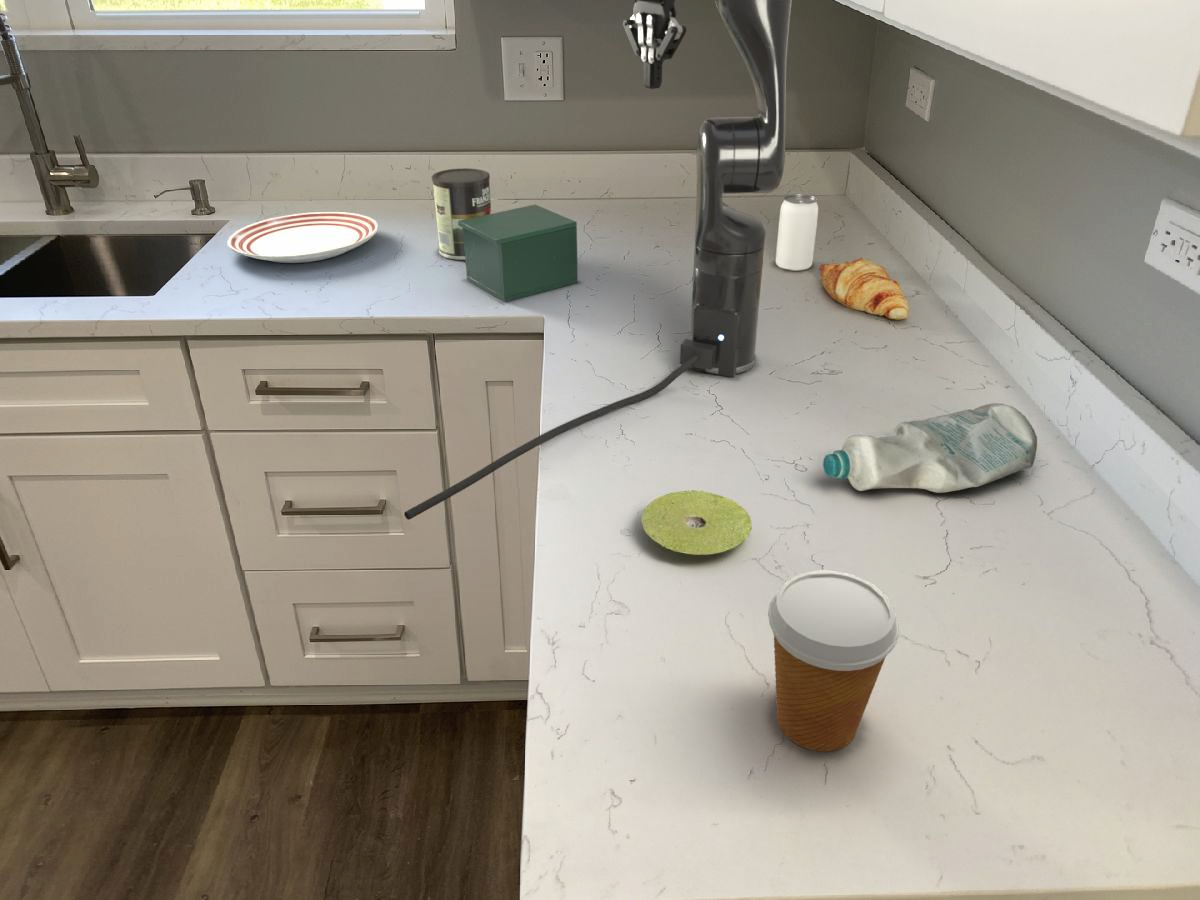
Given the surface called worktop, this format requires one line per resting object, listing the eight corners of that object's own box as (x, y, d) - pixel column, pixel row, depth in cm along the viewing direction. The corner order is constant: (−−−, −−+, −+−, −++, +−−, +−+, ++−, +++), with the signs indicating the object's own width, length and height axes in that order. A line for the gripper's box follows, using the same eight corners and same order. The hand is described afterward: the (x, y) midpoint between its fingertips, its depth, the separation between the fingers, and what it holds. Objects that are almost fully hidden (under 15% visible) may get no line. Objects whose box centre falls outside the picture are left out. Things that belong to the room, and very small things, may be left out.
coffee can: (503, 245, 175) (499, 170, 168) (478, 263, 167) (472, 185, 160) (456, 239, 178) (449, 165, 171) (428, 256, 170) (420, 179, 163)
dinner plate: (198, 264, 167) (193, 246, 166) (287, 220, 190) (284, 204, 188) (329, 280, 160) (326, 261, 158) (406, 232, 182) (404, 216, 180)
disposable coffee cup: (803, 786, 69) (822, 668, 63) (734, 700, 76) (744, 586, 70) (903, 742, 72) (930, 626, 66) (828, 664, 80) (846, 553, 73)
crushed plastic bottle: (981, 431, 114) (794, 455, 108) (998, 381, 109) (805, 404, 104) (1049, 496, 103) (846, 527, 98) (1070, 444, 99) (860, 473, 93)
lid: (496, 245, 145) (496, 240, 145) (458, 225, 154) (457, 220, 154) (576, 226, 153) (576, 221, 153) (535, 208, 162) (535, 204, 162)
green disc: (691, 492, 103) (692, 477, 102) (772, 536, 96) (774, 521, 95) (618, 534, 96) (619, 518, 95) (700, 584, 89) (701, 568, 88)
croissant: (915, 341, 145) (942, 295, 142) (875, 324, 139) (903, 276, 137) (829, 294, 161) (852, 252, 159) (791, 277, 155) (814, 233, 153)
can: (810, 259, 168) (817, 193, 161) (813, 272, 162) (821, 204, 156) (774, 258, 168) (780, 193, 162) (776, 271, 163) (782, 203, 156)
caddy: (504, 302, 151) (501, 244, 146) (466, 280, 160) (462, 224, 155) (577, 282, 158) (576, 226, 153) (537, 262, 167) (535, 209, 162)
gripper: (608, -38, 139) (608, 84, 148) (664, -34, 130) (660, 96, 139) (647, -40, 143) (644, 79, 151) (704, -36, 133) (698, 91, 142)
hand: (652, 87), depth 145 cm, fingers closed
